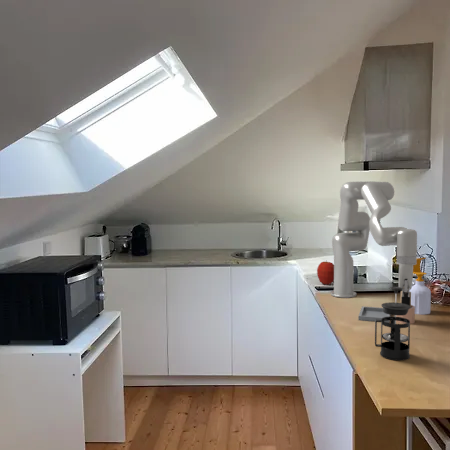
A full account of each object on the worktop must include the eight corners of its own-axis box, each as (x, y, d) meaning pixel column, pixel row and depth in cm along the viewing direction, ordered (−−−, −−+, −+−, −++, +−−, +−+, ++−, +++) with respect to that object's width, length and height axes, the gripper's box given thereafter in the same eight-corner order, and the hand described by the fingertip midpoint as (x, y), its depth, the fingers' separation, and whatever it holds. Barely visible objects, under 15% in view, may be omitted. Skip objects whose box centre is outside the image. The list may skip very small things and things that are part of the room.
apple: (316, 285, 267) (316, 260, 266) (318, 282, 277) (318, 257, 276) (335, 286, 264) (335, 261, 263) (336, 282, 274) (336, 258, 273)
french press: (409, 351, 165) (410, 284, 163) (414, 361, 156) (416, 291, 154) (373, 349, 167) (374, 283, 165) (376, 359, 158) (377, 290, 156)
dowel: (400, 319, 199) (400, 290, 198) (410, 320, 198) (411, 291, 196) (399, 322, 195) (400, 292, 194) (410, 323, 194) (411, 293, 193)
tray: (361, 311, 214) (361, 306, 214) (390, 314, 210) (390, 308, 210) (358, 322, 199) (358, 316, 199) (389, 324, 195) (389, 318, 195)
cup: (396, 320, 201) (396, 303, 200) (414, 321, 199) (414, 304, 198) (396, 324, 195) (396, 307, 194) (414, 326, 192) (414, 309, 191)
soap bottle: (416, 317, 205) (418, 259, 203) (403, 311, 214) (404, 256, 211) (435, 315, 207) (436, 258, 205) (421, 309, 216) (422, 255, 214)
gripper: (396, 256, 203) (396, 299, 205) (396, 263, 188) (395, 309, 189) (416, 257, 201) (415, 300, 202) (416, 264, 185) (415, 311, 187)
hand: (405, 304), depth 196 cm, fingers closed on dowel, 4 cm apart
